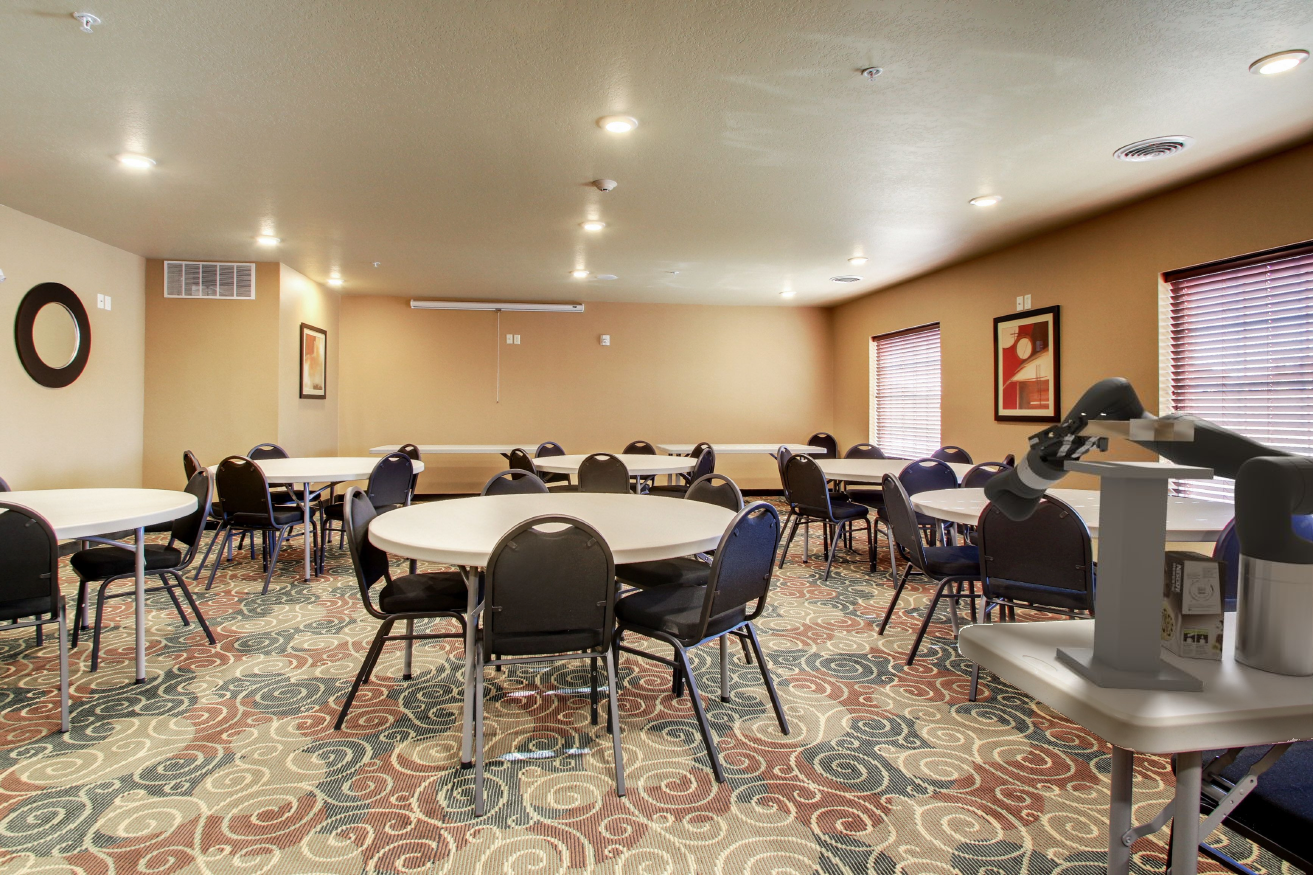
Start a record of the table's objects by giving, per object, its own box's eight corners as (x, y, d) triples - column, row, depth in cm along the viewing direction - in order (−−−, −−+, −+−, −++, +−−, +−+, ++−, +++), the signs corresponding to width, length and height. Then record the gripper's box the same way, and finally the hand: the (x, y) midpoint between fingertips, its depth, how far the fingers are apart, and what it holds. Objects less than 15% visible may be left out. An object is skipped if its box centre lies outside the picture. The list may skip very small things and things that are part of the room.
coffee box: (1224, 661, 106) (1229, 562, 105) (1179, 657, 107) (1184, 559, 106) (1190, 641, 115) (1195, 550, 114) (1149, 638, 116) (1153, 548, 115)
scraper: (1100, 435, 114) (1101, 418, 114) (1193, 441, 92) (1194, 419, 92) (1052, 434, 115) (1053, 417, 115) (1133, 440, 93) (1134, 419, 93)
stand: (1146, 659, 106) (1155, 462, 104) (1202, 691, 94) (1213, 468, 92) (1056, 656, 107) (1064, 460, 105) (1100, 686, 95) (1109, 466, 93)
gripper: (1090, 482, 122) (1145, 439, 107) (1012, 480, 123) (1056, 437, 108) (1080, 446, 126) (1132, 399, 110) (1004, 444, 127) (1046, 398, 111)
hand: (1094, 418), depth 109 cm, fingers closed on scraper, 2 cm apart
